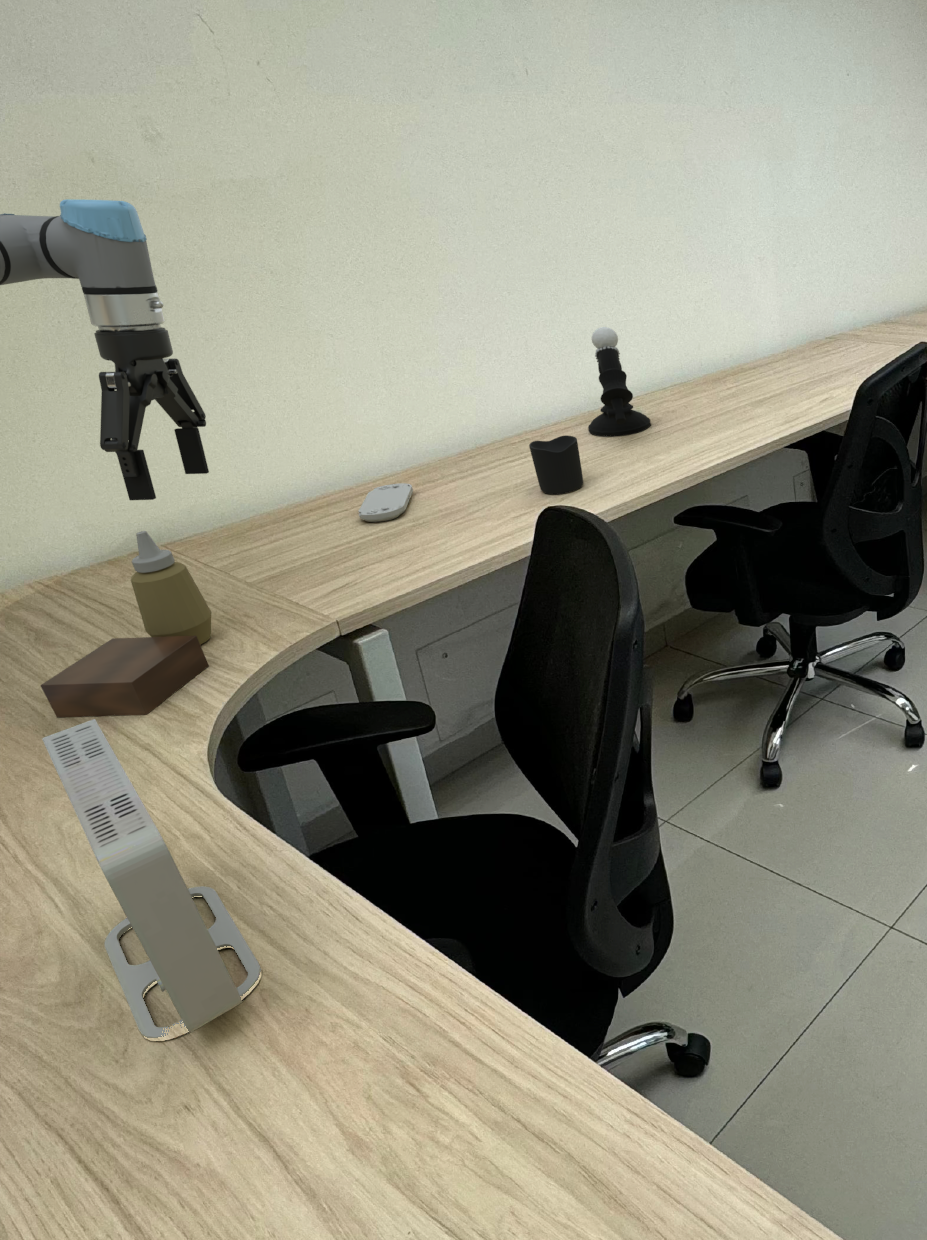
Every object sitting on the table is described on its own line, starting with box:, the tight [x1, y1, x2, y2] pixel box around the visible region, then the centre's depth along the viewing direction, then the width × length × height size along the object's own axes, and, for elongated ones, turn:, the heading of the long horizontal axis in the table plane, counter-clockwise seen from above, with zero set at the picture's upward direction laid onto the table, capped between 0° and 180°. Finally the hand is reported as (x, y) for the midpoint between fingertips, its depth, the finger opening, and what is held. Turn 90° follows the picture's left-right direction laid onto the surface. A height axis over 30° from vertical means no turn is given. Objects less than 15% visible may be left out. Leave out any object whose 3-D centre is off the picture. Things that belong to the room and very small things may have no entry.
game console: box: [357, 482, 414, 523], centre depth 184 cm, size 18×2×8 cm
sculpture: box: [587, 326, 652, 437], centre depth 221 cm, size 15×24×25 cm, turn 20°
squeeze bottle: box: [130, 530, 212, 646], centre depth 132 cm, size 8×8×18 cm
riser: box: [40, 636, 210, 718], centre depth 123 cm, size 12×12×5 cm
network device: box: [41, 718, 262, 1038], centre depth 78 cm, size 26×9×20 cm, turn 48°
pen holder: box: [528, 435, 584, 495], centre depth 189 cm, size 9×9×10 cm
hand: (171, 485), depth 125 cm, fingers open, 13 cm apart
